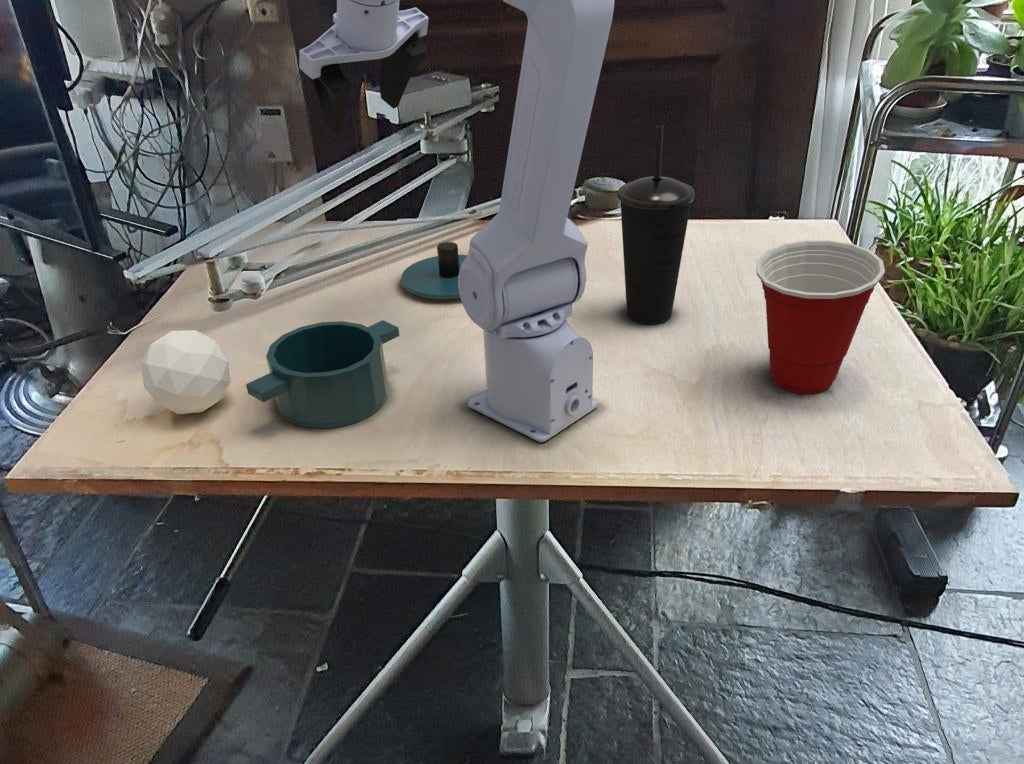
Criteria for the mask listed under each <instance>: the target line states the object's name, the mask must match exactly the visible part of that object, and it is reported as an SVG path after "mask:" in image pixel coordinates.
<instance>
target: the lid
mask: <svg viewBox="0 0 1024 764" xmlns="http://www.w3.org/2000/svg"><path fill="white" fill-rule="evenodd" d="M436 251H437V253H436V254H437V255H435V256H431V257H426V258H423V259H421V260H418V261H416V262H414V263H412V264H410V265H409V266H407V267H406V268H405V269H404V270H403V271H402V273H401V275H400V279H401V285H402V287H403V288H404V289H405V290H406V291H407V292H409V293H410V294H413V295H415V296H417V297H421V298H427V299H433V300H451V299H453V300H455V299H461V298H460V294H459V287H458V276H459V271H460V268H461V265H462V263H463V261H464V260H465V258H466V257H467V255H468V254H459V247H458V243H456V242H452V241H445V242H440V243H438V245H437V246H436Z"/></svg>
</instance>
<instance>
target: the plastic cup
mask: <svg viewBox="0 0 1024 764" xmlns="http://www.w3.org/2000/svg"><path fill="white" fill-rule="evenodd" d="M755 273H756V276H757V277H758V278H759V280H760V283H761V285H762V286H761V287H762V290H763V296H764V300H765V313H766V314H765V315H766V328H767V332H766V333H767V349H768V350H769V374H770V378H771V380H772V381H773V383H774V384H775V385H776V386H778V387H779V388H781V389H783V390H785V391H788V392H791V393H794V394H803V395H804V394H805V395H811V394H820V393H822V392H824V391H827V390H829V388H830V387H831V386H832V385H833V383H834V381H835V380H836V379H837V377H838V373H839V371H840V368H841V367H842V364H843V361H844V358H845V357H846V356H847V354H848V351H849V349H850V347H851V344H852V341H853V338H854V336H855V334H856V331H857V329H858V327H859V324H860V321H861V319H862V316H863V314H864V311H865V309H866V306H867V305H868V303H869V301H870V299H871V296H872V294H873V292H874V290H875V288H876V286H877V284H878V283H880V281H881V280H882V278H883V277H884V275H885V273H886V270H885V264H884V261H883V259H881V258H880V257H879V256H878V255H876V253H874V252H873V250H870V249H867V248H865V247H863V246H859V245H857V244H855V243H850V242H844V241H837V240H831V239H804V240H799V241H793V242H787V243H783V244H780V245H778V246H775V247H773V248H771V249H768V250H766V251H765V252H764V253H763V254H762V255H761V256H760V257H759V258H757V259H756V263H755Z"/></svg>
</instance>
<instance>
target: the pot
mask: <svg viewBox="0 0 1024 764" xmlns="http://www.w3.org/2000/svg"><path fill="white" fill-rule="evenodd" d="M398 337H400V329H399V327H398V326H397V325H395V324H392V323H391V322H389V321H386V320H384V319H382V320H380V321H377V322H376V323H373V324H371V325H369V326H366V325H364V324H361V323H357V322H351V321H345V320H341V321H340V320H339V321H338V320H337V321H319V322H316V323H311V324H307V325H304V326H300V327H297V328H295V329H293V330H290V331H288V332H286V333H283V334H282V335H281V336H279V337H278V338H277V339H275V341H273V342H272V343H271V344H270V345H269V347H268V351H267V352H266V355H265V357H266V363H267V367H268V371H269V372H268V373H267V374H265V375H262V376H261V377H258V378H256V379H254V380H252V381H249V382H248V383H246V384H245V387H246V390H247V394H248V395H250V396H252V397H253V398H255V399H256V400H257V401H259V402H260V403H266V402H268V401H270V400H271V399H274V398H275V402H276V405H277V408H278V411H279V413H280V414H281V416H282V417H283V418H284V419H285V420H287V421H288V422H290V423H292V424H294V425H297V426H300V427H303V428H311V429H334V428H341V427H344V426H349V425H353V424H355V423H358V422H361V421H363V420H365V419H367V418H369V417H370V416H373V415H374V414H376V412H378V411H379V410H380V409H382V407H383V406H384V404H385V403H386V401H387V399H388V397H389V396H388V395H389V389H388V387H389V384H388V376H387V368H386V361H385V360H386V359H385V355H384V347H383V345H385V344H386V343H388V342H390V341H392V340H394V339H396V338H398Z"/></svg>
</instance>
